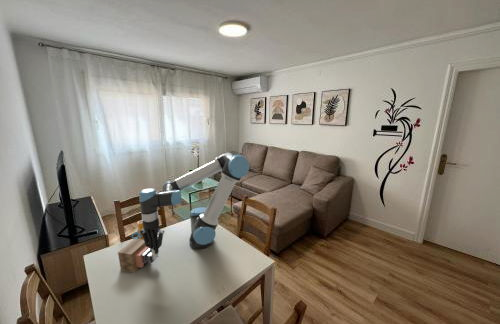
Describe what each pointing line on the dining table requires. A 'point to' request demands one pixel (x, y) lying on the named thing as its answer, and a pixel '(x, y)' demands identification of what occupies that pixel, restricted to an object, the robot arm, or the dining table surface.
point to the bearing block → (130, 255)
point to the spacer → (140, 256)
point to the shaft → (147, 256)
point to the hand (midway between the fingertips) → (155, 258)
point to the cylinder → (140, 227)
